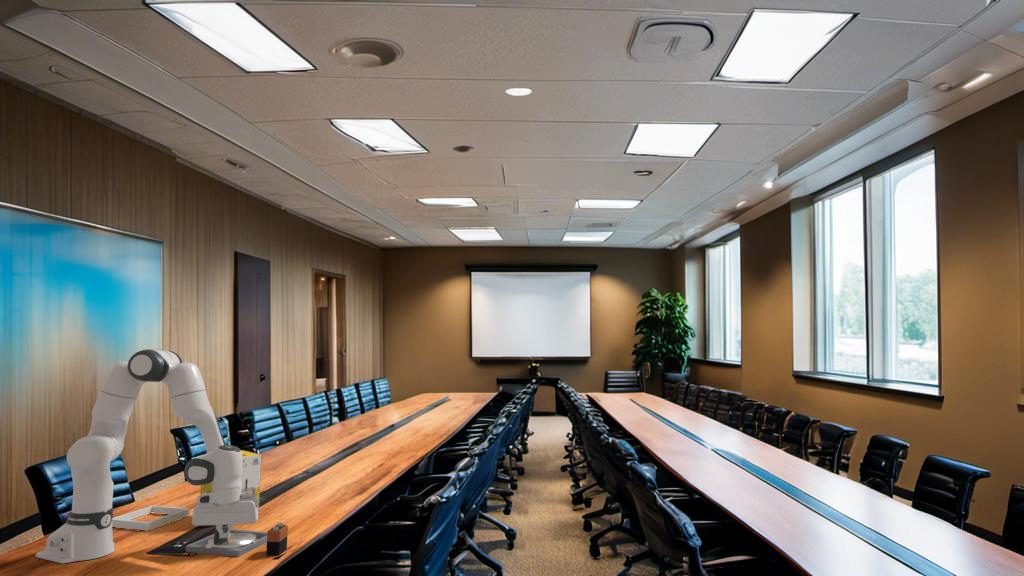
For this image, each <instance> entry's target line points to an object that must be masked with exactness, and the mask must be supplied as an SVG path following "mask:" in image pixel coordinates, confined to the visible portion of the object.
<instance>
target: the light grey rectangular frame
mask: <svg viewBox="0 0 1024 576" xmlns="http://www.w3.org/2000/svg"><path fill="white" fill-rule="evenodd" d="M190 511H191V508H188V507H177V506H165V505H163V506H162V505H150V506H146V507H143V508H140V509H136V510H134V511H130V512H127V513H124V514H121V515H118V516H113V518H112V521H111V522H112V527H116V528H115V529H118V528H126V529H125V530H129V529H138V530H137V531H139V530H150V531H152V530H151V529H153V528H156V527H158V526H161V525H163V524H167V523H169V522H172V521H175V520H178V519H180V518H183V517H185V516H187V515H189V516H190V514H191V512H190ZM151 512H155V513H166V514H170V515H164V516H162V517H160V518H159V517H158V518H156V519H152V520H150V521H141V520H131V519H133V518H136V517H139V516H142V515H145V514H148V513H151ZM183 519H184V518H183ZM180 520H181V519H180ZM178 521H179V520H178ZM175 522H176V521H175ZM172 523H173V522H172ZM169 524H170V523H169ZM167 525H168V524H167ZM161 527H162V526H161ZM158 528H159V527H158ZM156 529H157V528H156ZM153 530H154V529H153Z"/></svg>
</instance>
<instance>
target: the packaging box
mask: <svg viewBox="0 0 1024 576" xmlns="http://www.w3.org/2000/svg"><path fill="white" fill-rule="evenodd" d="M240 450H241V452H242V459H243V469H242V475H241V483H242V489H241V495H255V496H257V497H258V498H259V499H260V493H261V475H262V456H263V455H262V454H260V453H255V452H252V451H247V450H243V449H240ZM212 490H213V485H212V484H210V483H209V484H205V485H200V495H201V494H203V493H205V492H208V491H212ZM200 495H199V496H200ZM255 498H256V497H255ZM259 511H260V505H259V506H258V516H260V515H259ZM214 526H215V527H216V525H214Z"/></svg>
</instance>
